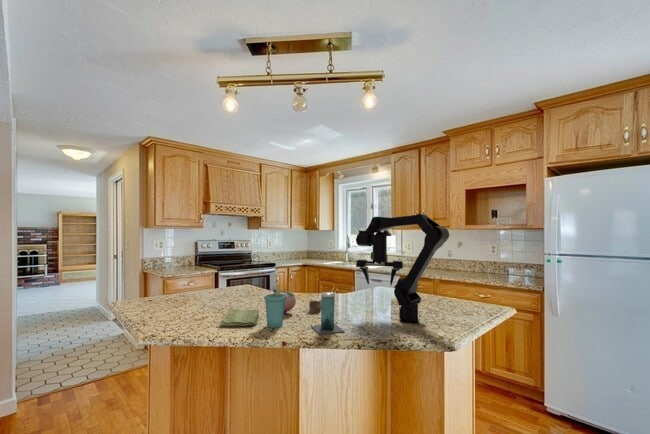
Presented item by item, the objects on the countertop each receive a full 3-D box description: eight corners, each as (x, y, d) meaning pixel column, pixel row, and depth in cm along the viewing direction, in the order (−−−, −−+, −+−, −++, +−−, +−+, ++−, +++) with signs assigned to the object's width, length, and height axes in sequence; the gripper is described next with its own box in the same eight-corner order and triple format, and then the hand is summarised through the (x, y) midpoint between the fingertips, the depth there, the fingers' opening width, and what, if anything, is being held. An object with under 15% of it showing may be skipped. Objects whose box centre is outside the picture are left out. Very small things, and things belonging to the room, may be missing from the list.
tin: (332, 325, 115) (333, 291, 115) (335, 330, 110) (336, 294, 111) (319, 326, 114) (319, 292, 114) (322, 331, 109) (322, 295, 110)
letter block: (321, 309, 141) (321, 298, 141) (320, 312, 136) (320, 301, 136) (311, 309, 141) (311, 298, 141) (309, 312, 137) (309, 300, 137)
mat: (334, 324, 118) (334, 323, 118) (344, 332, 110) (344, 331, 110) (311, 327, 115) (311, 326, 115) (319, 335, 106) (319, 333, 107)
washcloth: (218, 329, 113) (218, 320, 114) (228, 315, 131) (228, 307, 131) (256, 328, 115) (256, 319, 115) (261, 315, 132) (261, 307, 133)
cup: (285, 332, 109) (286, 287, 110) (262, 333, 108) (262, 287, 109) (285, 320, 123) (286, 281, 124) (264, 321, 122) (265, 281, 123)
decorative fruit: (269, 314, 132) (269, 289, 132) (278, 310, 139) (278, 286, 140) (290, 316, 129) (290, 291, 129) (298, 311, 136) (298, 287, 137)
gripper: (403, 246, 139) (403, 283, 139) (360, 245, 145) (360, 280, 144) (402, 247, 129) (402, 287, 128) (356, 246, 134) (355, 284, 133)
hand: (379, 284), depth 134 cm, fingers open, 9 cm apart
